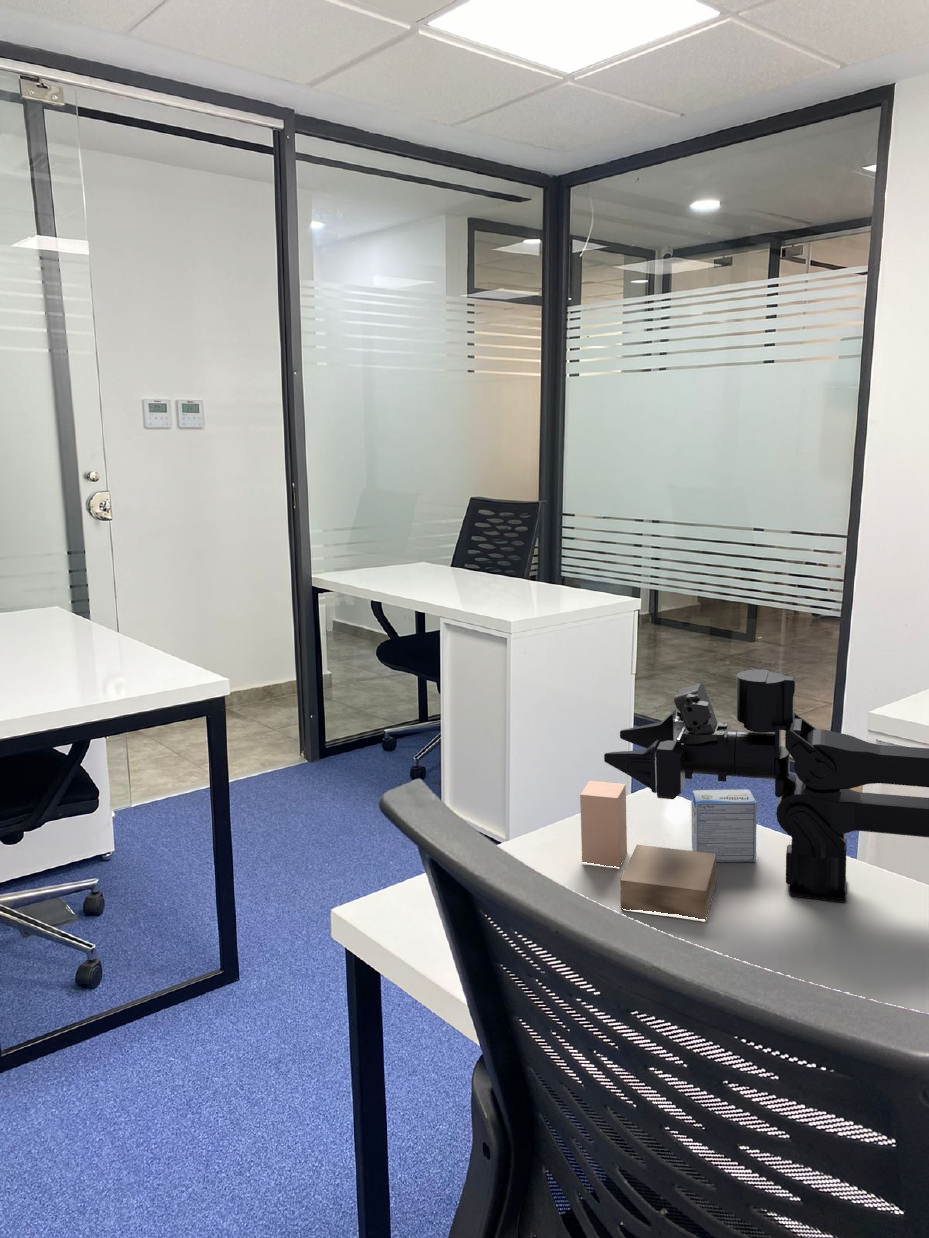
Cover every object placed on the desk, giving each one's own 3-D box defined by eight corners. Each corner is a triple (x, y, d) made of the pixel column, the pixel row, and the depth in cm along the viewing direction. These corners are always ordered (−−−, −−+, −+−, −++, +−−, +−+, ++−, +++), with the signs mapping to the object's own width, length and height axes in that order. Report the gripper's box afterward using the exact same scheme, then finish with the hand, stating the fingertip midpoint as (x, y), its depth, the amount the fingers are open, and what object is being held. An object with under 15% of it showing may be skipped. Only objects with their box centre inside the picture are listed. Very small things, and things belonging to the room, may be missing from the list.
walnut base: (716, 882, 117) (716, 853, 116) (705, 922, 108) (705, 890, 107) (637, 872, 121) (636, 844, 120) (621, 910, 112) (620, 879, 111)
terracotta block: (627, 852, 127) (625, 784, 125) (619, 869, 122) (617, 798, 120) (591, 848, 129) (589, 780, 127) (582, 864, 124) (580, 794, 122)
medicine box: (750, 848, 126) (750, 788, 124) (756, 863, 122) (757, 801, 120) (691, 848, 127) (690, 789, 125) (695, 863, 123) (695, 802, 121)
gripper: (743, 671, 122) (625, 667, 127) (728, 713, 105) (593, 706, 110) (743, 752, 124) (627, 744, 130) (728, 806, 107) (596, 794, 113)
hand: (612, 745), depth 121 cm, fingers open, 9 cm apart
